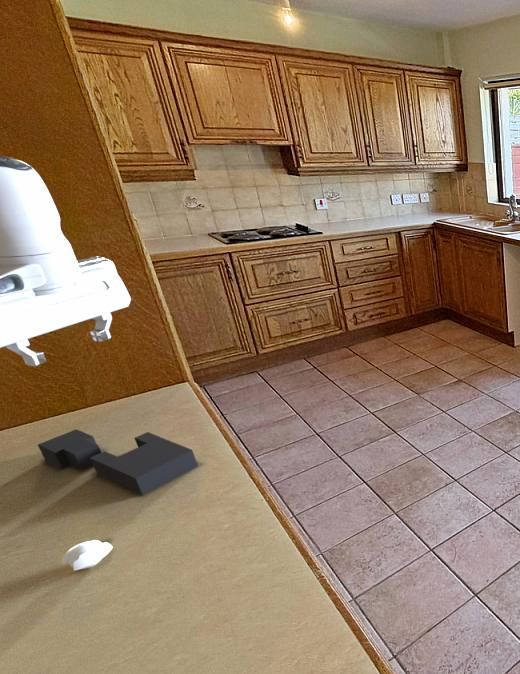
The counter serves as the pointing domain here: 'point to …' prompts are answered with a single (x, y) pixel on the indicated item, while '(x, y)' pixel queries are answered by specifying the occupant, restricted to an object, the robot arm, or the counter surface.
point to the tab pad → (70, 450)
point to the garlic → (86, 554)
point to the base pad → (145, 464)
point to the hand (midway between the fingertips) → (71, 351)
